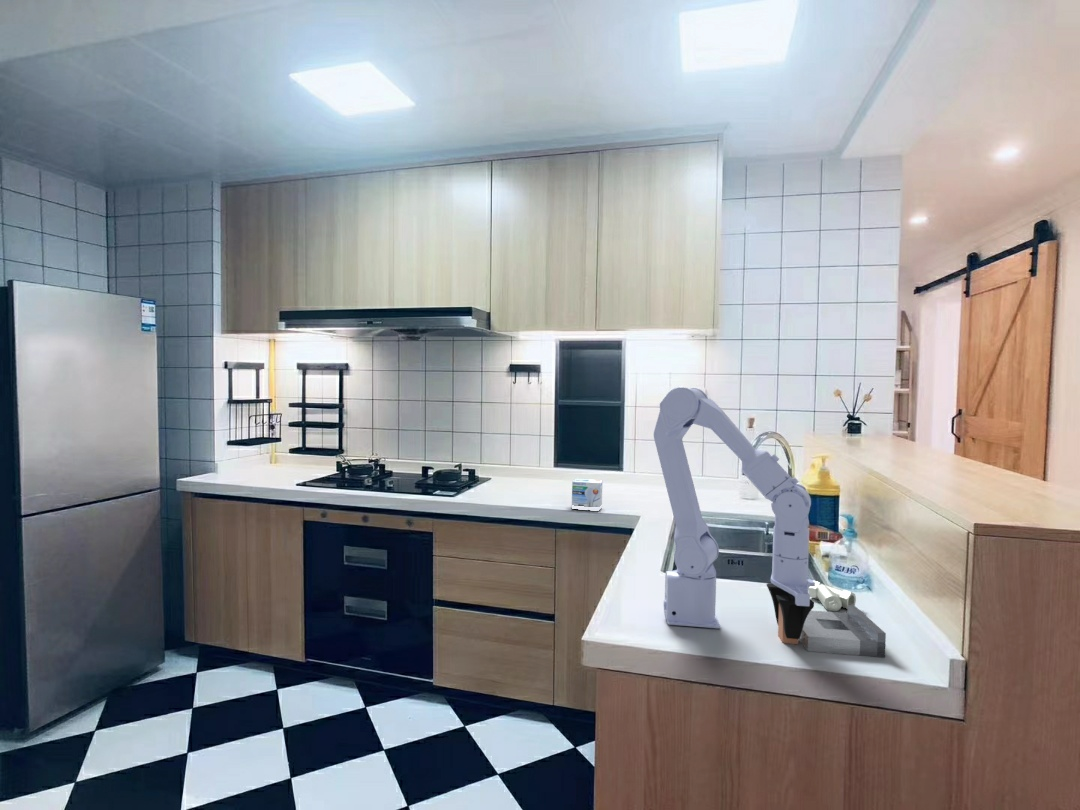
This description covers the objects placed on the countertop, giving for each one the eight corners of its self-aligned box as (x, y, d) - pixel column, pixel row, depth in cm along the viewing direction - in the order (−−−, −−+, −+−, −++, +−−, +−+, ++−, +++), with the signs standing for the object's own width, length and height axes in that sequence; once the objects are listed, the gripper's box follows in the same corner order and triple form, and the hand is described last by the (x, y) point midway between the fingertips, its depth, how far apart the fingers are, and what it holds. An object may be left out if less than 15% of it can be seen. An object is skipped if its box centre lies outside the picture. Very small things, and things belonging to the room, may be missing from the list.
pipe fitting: (838, 618, 108) (856, 608, 111) (838, 598, 107) (855, 589, 111) (799, 604, 114) (817, 596, 118) (799, 586, 114) (817, 578, 118)
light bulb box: (571, 510, 201) (571, 480, 201) (574, 506, 207) (574, 478, 207) (600, 512, 198) (600, 482, 198) (602, 508, 205) (602, 479, 205)
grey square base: (807, 651, 92) (808, 627, 92) (786, 621, 104) (786, 600, 104) (885, 657, 90) (885, 633, 90) (853, 627, 102) (854, 605, 102)
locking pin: (782, 642, 95) (783, 608, 95) (778, 636, 98) (778, 602, 97) (798, 643, 95) (799, 609, 94) (793, 637, 97) (794, 603, 97)
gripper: (830, 569, 88) (828, 652, 88) (800, 544, 102) (798, 616, 103) (784, 566, 89) (782, 649, 89) (761, 542, 103) (759, 614, 104)
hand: (788, 631), depth 96 cm, fingers open, 4 cm apart
